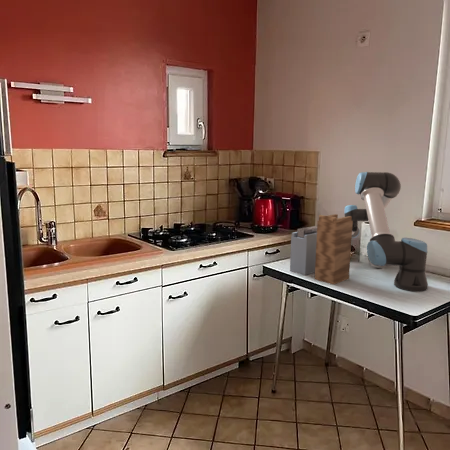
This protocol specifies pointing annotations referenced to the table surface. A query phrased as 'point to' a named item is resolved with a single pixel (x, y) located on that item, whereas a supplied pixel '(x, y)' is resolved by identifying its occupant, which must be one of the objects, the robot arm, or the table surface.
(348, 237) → the stand
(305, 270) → the block
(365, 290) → the table surface
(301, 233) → the grey bar
